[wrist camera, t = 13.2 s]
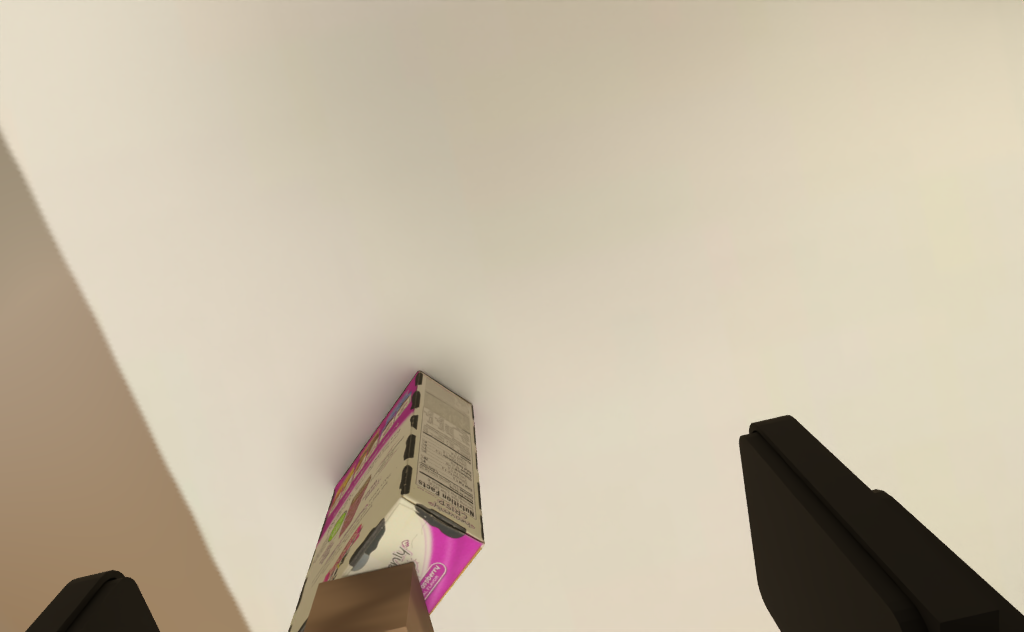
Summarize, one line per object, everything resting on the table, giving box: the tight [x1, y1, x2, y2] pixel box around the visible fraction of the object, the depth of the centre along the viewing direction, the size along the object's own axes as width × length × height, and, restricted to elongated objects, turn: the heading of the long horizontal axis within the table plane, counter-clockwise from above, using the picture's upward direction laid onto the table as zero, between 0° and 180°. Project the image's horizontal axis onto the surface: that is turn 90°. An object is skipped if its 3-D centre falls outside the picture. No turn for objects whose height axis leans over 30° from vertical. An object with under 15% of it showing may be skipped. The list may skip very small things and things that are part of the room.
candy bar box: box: [288, 371, 485, 632], centre depth 38 cm, size 11×5×16 cm, turn 144°
